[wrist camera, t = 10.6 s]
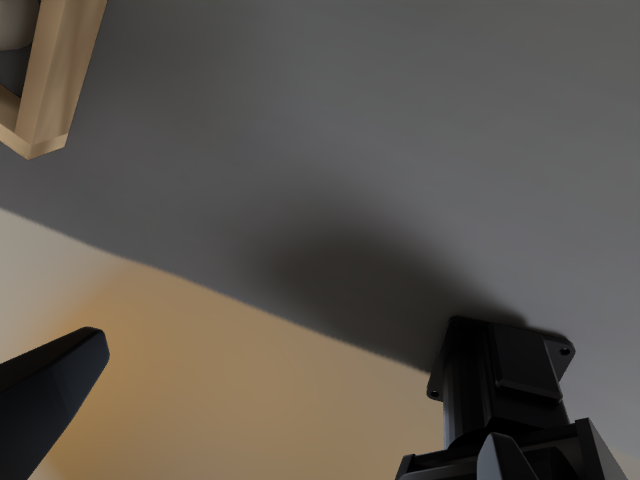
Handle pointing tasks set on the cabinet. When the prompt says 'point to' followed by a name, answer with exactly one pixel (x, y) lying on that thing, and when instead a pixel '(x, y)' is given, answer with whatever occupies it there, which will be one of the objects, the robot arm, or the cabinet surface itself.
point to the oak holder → (51, 77)
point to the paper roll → (17, 23)
